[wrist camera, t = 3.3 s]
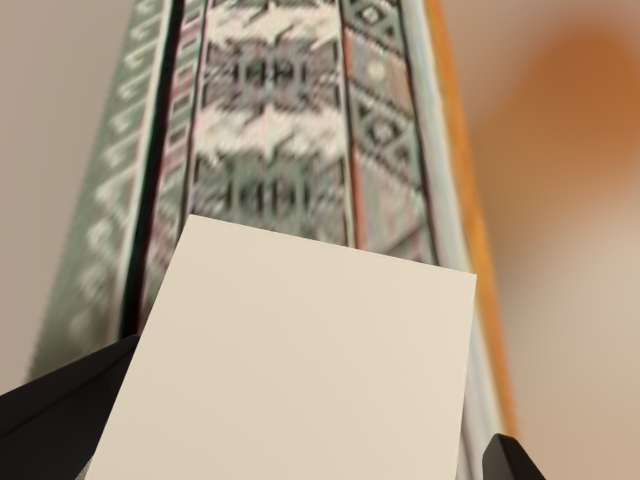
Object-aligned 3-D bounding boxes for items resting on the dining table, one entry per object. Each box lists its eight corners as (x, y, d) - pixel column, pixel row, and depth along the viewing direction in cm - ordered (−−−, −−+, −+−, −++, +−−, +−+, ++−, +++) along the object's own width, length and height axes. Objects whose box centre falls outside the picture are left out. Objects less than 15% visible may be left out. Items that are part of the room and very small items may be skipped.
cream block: (368, 444, 15) (433, 692, 4) (262, 413, 16) (58, 545, 5) (388, 331, 17) (476, 274, 5) (291, 308, 17) (189, 214, 6)
